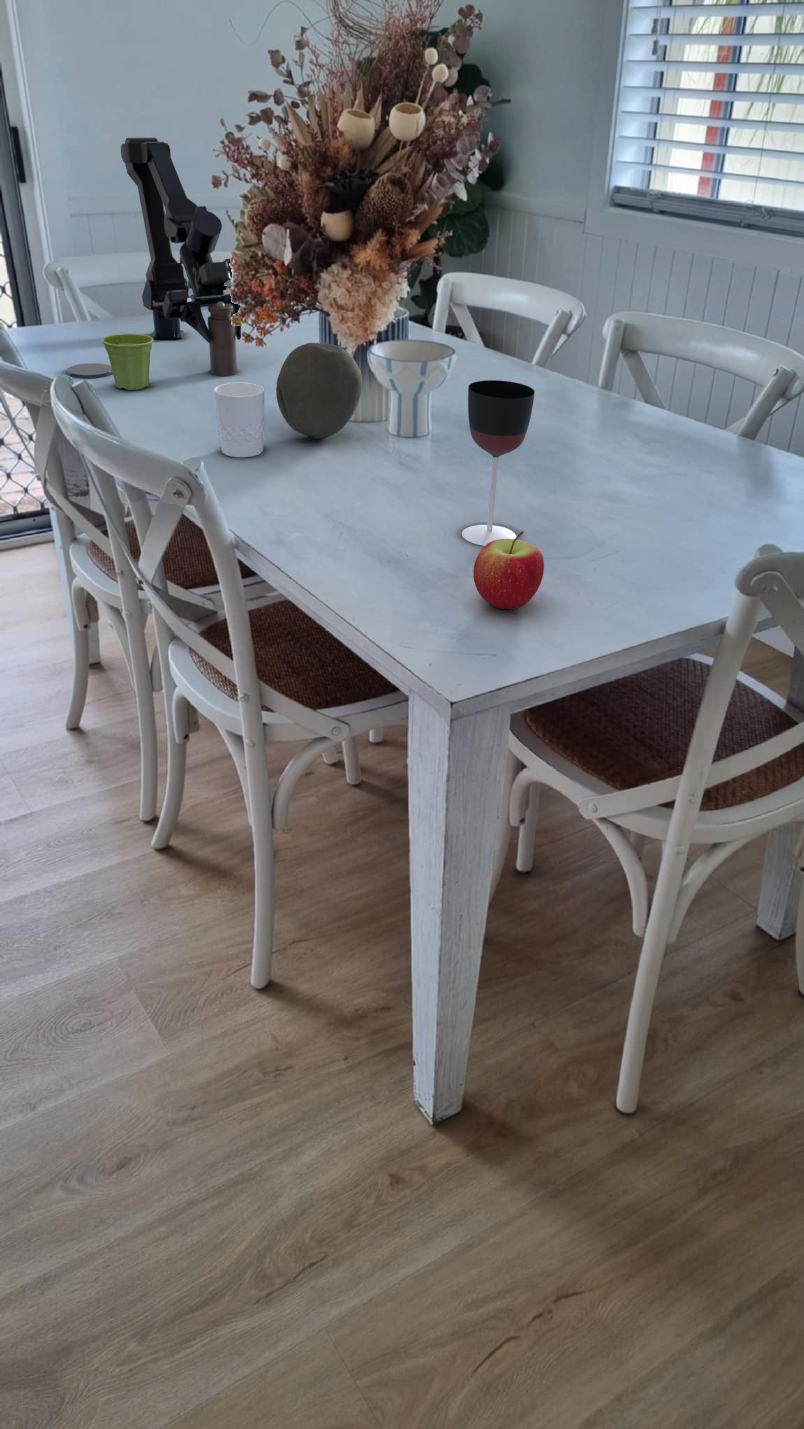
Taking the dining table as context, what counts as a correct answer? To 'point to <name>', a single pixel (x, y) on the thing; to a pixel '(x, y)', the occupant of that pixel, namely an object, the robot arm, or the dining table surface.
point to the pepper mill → (222, 340)
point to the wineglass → (497, 437)
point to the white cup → (240, 418)
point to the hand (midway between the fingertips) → (224, 340)
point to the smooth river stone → (318, 389)
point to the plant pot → (129, 359)
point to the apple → (508, 572)
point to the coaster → (89, 370)
